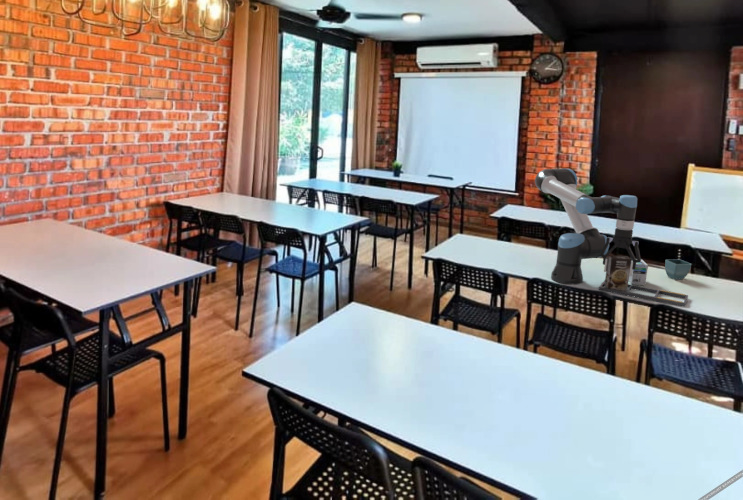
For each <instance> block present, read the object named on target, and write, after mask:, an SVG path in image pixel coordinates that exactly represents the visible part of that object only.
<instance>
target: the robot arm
mask: <svg viewBox="0 0 743 500" xmlns="http://www.w3.org/2000/svg"><path fill="white" fill-rule="evenodd" d="M534 184H535V186H536V188H537V189H538V190H539V191H541V192H543V193H544V194H551V195H553V196H555V197H556V198H558V199H560V201H561V204H562V206H563V207H564V210H565V212H566V214H567V216H568V219H569V220H570V222H571V224H572V227H573V229H574V231H575V232H568V233H563V234H561V235H560V237H559V239H558V243H557V254H556V264H555V266H554V267H553V269H552V272H551V276H550V277H551V278H550V279H551V280H552V281H554V282H557V283H561V284H566V285H580V284H582V283H583V280H584V276H583V272H582V267H581V266H582V260H585V259H586V260H587V259H598V258H603V259H602V265H603V266H604V267H603V272H604V273H606V270H607V264H608V257H609V255H611V253H612V252H613V251H614V250H615V249H616V248H618V249H620V248H621V249H625V250H626V251H627V253H628V255H629V258H631V259H632V261H633V262H631V267H630V273H629V276H631V275H632V270H634V269H635V268H636V263H639V262H640V261H641V260H642V258H641V253H640V248H639V240H633V233H634V232H633V229H634V228H635V227H634V226H635V221H636V220H635V219H636V213H637V207H638V197H637V196H636V195H630V194H623V195H620V196H619V197H615V196H611V195H602V196H599V197H592V196H590V195H587V194H586V193H584V192H582V191H580V190H578V189H577V188H578V187H577V185H578V175H577V173H576V172H575V171H574V170H573V169H571V168H566V167H565V168H563V167H562V168H545V169H542V170H540V171H539V172H537V174H536V175H535V179H534ZM605 213H606V214H607V213H609V214H610V213H611V214H615V215H616V223H615V227H616V228H615V229H614V235H613V237H611V236H608V237H607V235H605V234H602V233H600V231H599V229H598V228H597V227H594V226H593V224H592V222H591V220H590V218H589V216H588V215H589V214H605ZM612 242H613V243H614V244H613V246H612V247H611V248H610V243H612ZM631 244H632V245H633V247H634V251H635V255H636V256H635V255H634V253H633V250H632V248H631ZM609 248H610V249H609ZM636 259H637V260H636Z"/></svg>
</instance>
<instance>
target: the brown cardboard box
mask: <svg viewBox="0 0 743 500" xmlns="http://www.w3.org/2000/svg"><path fill="white" fill-rule="evenodd" d="M607 258H608V264H607V270H606V272H605V278H604V281H605V284H604V287H606V288H612V289H617V290H622V291H627V290H628V284H629V273H630V267H631V262H632V259H631V257H630V256H628V255H613V254H612V255H611V254H609V255H608V256H607Z"/></svg>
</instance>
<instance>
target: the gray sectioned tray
mask: <svg viewBox="0 0 743 500" xmlns="http://www.w3.org/2000/svg"><path fill="white" fill-rule="evenodd" d="M604 284H605V280H603V282H602V283H601V284H600V286H599V287H598V291H603V292H607V293H612V294H617V295H622V296H627V295H629V296H628V297H632V296H635V297H634V298H637V297H639V298H638V299H642V298H643V300H647V301H653V302H659V303H664V304H668V305H669V304H670V305H674V306H679V307H683V308H684V307H686V304H687V302H688V299H689V295H688V294H684V293H679V292H675V291H669V290H664V289H656V288H650V287H645V286H641V285H636V284H631V283H630V284H629V283H628V288H627V291H622V290H617V289H612V288H606V287H604ZM635 289H636V290H635ZM632 290H635V291H641V292H648V293H652V294H654V296H652V295H648V294H641V293H637V292H631V291H632ZM659 295H663V296H668V297H674V298H679V299H684V301H681V300H675V299H670V298H666V297H659Z"/></svg>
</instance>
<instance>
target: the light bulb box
mask: <svg viewBox="0 0 743 500" xmlns="http://www.w3.org/2000/svg"><path fill="white" fill-rule="evenodd" d="M636 260H637V258H636ZM632 262H633V261H632ZM648 268H649V264H648V263H646V262H645V261H644V260H643V259H641V261H640V262H639V263H636V268H635V269H634V270H632V275H631V276H629V281H628V283H630V285H635V286H646V281H647V275H648Z"/></svg>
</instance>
